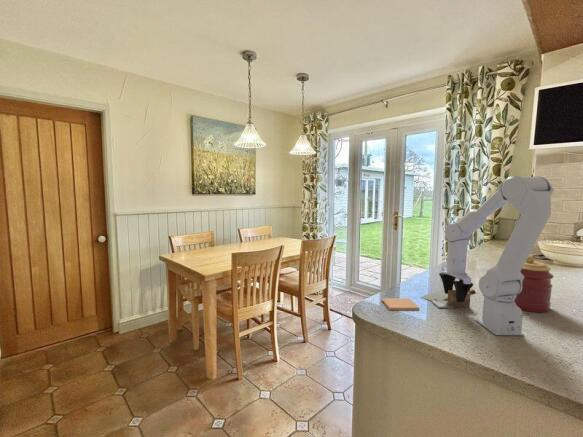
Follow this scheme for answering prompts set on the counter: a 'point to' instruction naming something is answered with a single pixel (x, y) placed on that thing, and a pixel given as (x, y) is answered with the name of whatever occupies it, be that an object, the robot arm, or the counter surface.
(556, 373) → the counter surface
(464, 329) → the counter surface
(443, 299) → the kitchen cleaver
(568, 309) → the counter surface
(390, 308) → the tile
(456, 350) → the counter surface
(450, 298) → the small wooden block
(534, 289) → the canister
